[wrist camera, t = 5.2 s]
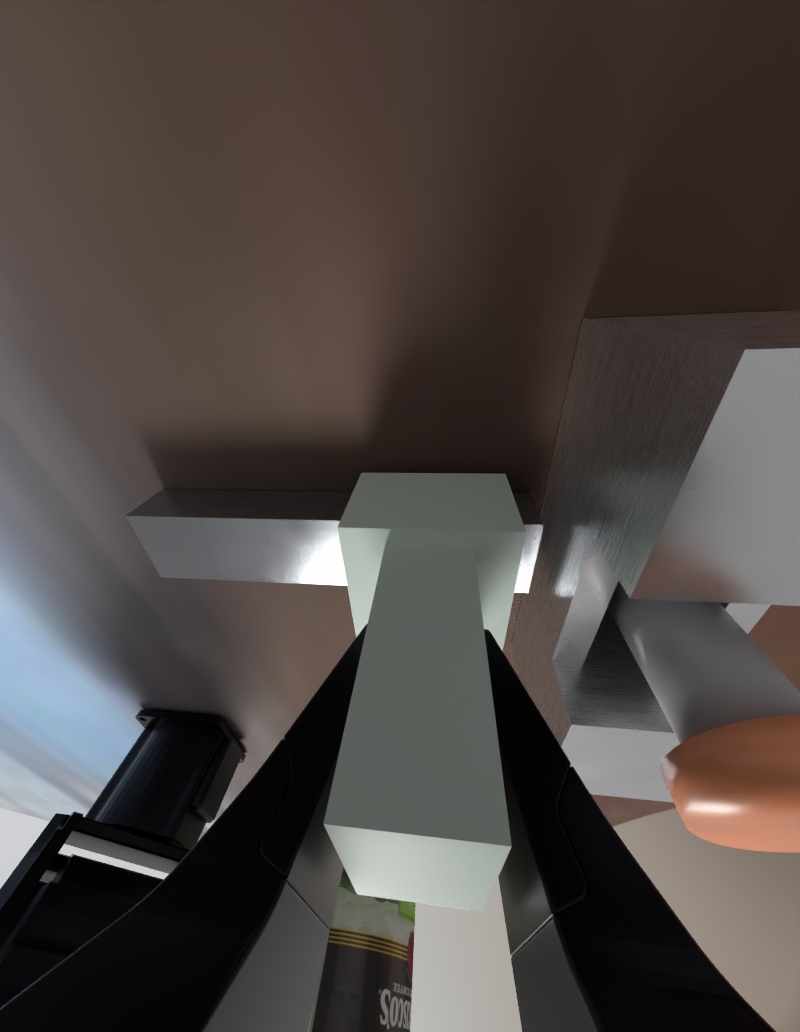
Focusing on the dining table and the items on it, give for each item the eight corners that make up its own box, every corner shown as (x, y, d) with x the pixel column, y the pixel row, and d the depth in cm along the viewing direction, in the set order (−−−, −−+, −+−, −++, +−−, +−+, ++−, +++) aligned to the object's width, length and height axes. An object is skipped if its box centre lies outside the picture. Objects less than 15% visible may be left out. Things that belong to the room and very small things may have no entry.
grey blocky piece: (512, 642, 17) (541, 789, 12) (582, 318, 9) (745, 349, 4) (618, 649, 16) (696, 804, 11) (786, 310, 9) (1236, 335, 4)
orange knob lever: (574, 634, 11) (654, 839, 7) (606, 548, 9) (743, 761, 5) (694, 641, 11) (853, 861, 7) (754, 553, 9) (1033, 786, 5)
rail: (190, 547, 16) (160, 577, 14) (162, 489, 14) (125, 516, 12) (517, 557, 14) (528, 593, 12) (530, 493, 12) (543, 525, 11)
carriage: (373, 576, 15) (298, 891, 7) (361, 472, 12) (217, 798, 4) (490, 581, 14) (549, 926, 7) (505, 473, 12) (637, 846, 4)
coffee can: (407, 798, 30) (386, 1130, 18) (428, 838, 35) (422, 1114, 23) (299, 794, 32) (217, 1089, 20) (334, 832, 37) (286, 1083, 25)
